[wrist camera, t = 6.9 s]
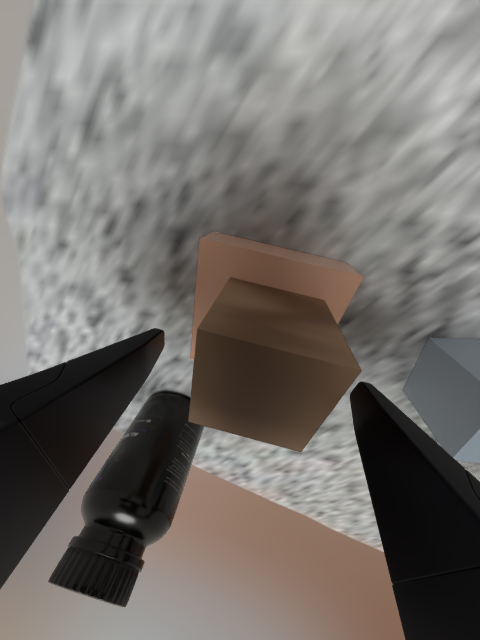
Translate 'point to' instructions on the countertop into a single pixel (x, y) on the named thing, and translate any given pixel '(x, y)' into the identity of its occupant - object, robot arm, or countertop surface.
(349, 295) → the base block
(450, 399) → the slate-blue cube
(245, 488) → the countertop surface
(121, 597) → the supplement bottle
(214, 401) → the walnut cube
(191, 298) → the countertop surface
